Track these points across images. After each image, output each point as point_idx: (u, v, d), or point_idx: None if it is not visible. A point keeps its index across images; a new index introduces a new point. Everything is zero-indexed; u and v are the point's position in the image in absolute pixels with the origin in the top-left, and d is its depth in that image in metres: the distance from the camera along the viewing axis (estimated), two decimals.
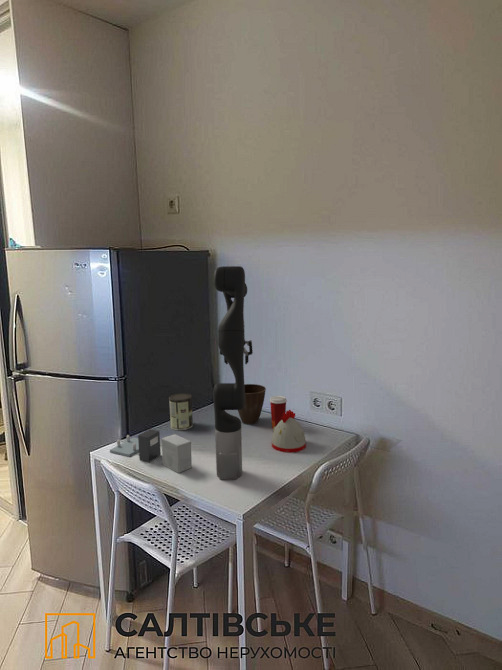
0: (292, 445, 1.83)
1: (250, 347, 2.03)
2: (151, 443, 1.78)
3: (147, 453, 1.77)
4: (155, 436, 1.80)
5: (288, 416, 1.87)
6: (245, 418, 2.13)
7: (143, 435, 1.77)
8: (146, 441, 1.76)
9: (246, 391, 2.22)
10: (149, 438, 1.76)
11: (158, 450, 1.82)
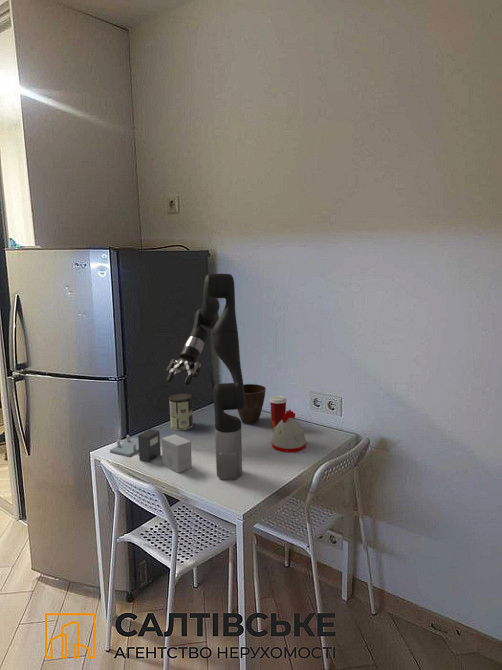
0: (292, 445, 1.83)
1: (195, 367, 1.88)
2: (151, 443, 1.78)
3: (147, 453, 1.77)
4: (155, 436, 1.80)
5: (288, 416, 1.88)
6: (245, 418, 2.13)
7: (143, 435, 1.77)
8: (146, 441, 1.76)
9: (246, 391, 2.22)
10: (149, 438, 1.76)
11: (158, 450, 1.82)
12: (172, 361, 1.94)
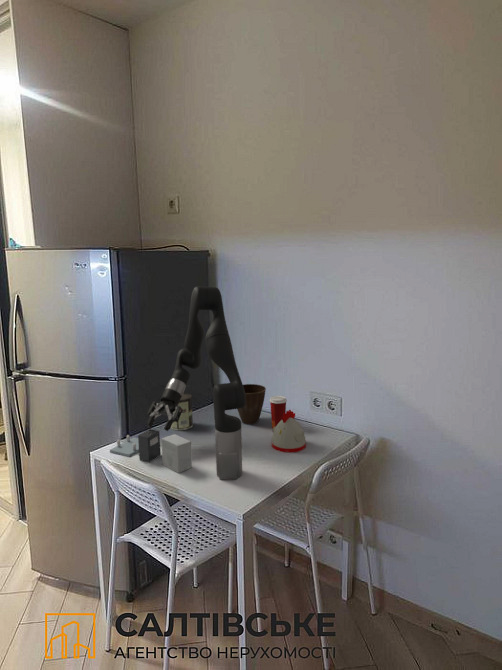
0: (292, 445, 1.83)
1: (176, 412, 1.84)
2: (151, 443, 1.78)
3: (147, 453, 1.77)
4: (155, 436, 1.80)
5: (288, 416, 1.87)
6: (245, 418, 2.13)
7: (143, 435, 1.77)
8: (146, 441, 1.76)
9: (246, 391, 2.22)
10: (149, 438, 1.76)
11: (158, 450, 1.82)
12: (153, 404, 1.90)
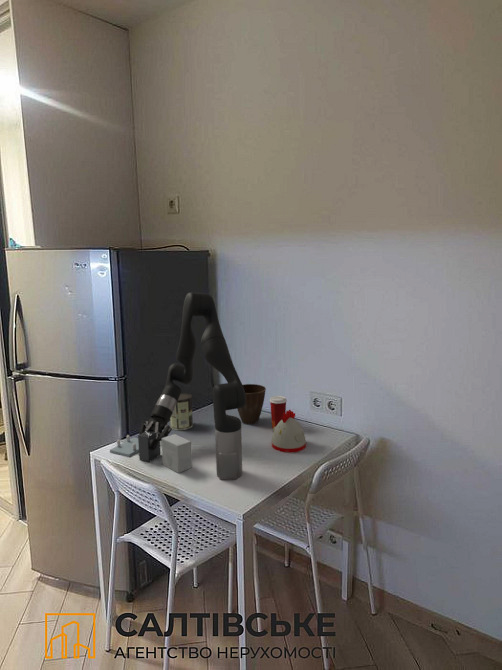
0: (292, 445, 1.83)
1: (164, 431, 1.79)
2: (151, 443, 1.78)
3: (147, 453, 1.77)
4: None
5: (288, 416, 1.87)
6: (245, 418, 2.13)
7: (143, 435, 1.77)
8: (146, 441, 1.76)
9: (246, 391, 2.22)
10: (149, 438, 1.76)
11: (158, 450, 1.82)
12: (143, 423, 1.85)
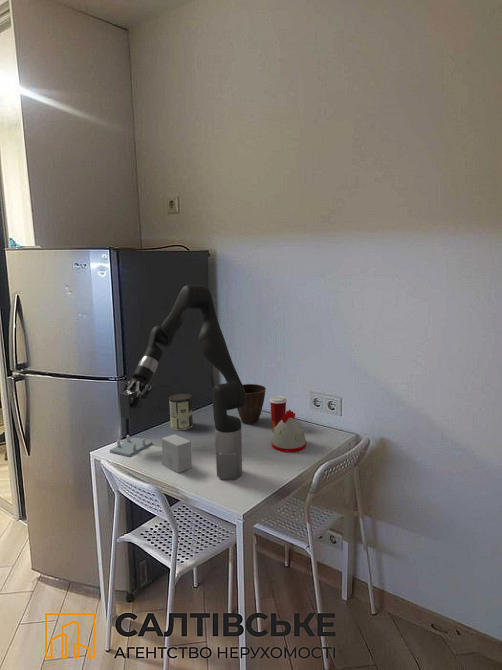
0: (292, 445, 1.83)
1: (144, 390, 1.86)
2: (132, 401, 1.84)
3: (128, 410, 1.84)
4: None
5: (288, 416, 1.87)
6: (245, 418, 2.13)
7: (124, 393, 1.84)
8: (127, 399, 1.83)
9: (246, 391, 2.22)
10: (130, 396, 1.83)
11: (139, 408, 1.89)
12: (125, 383, 1.91)
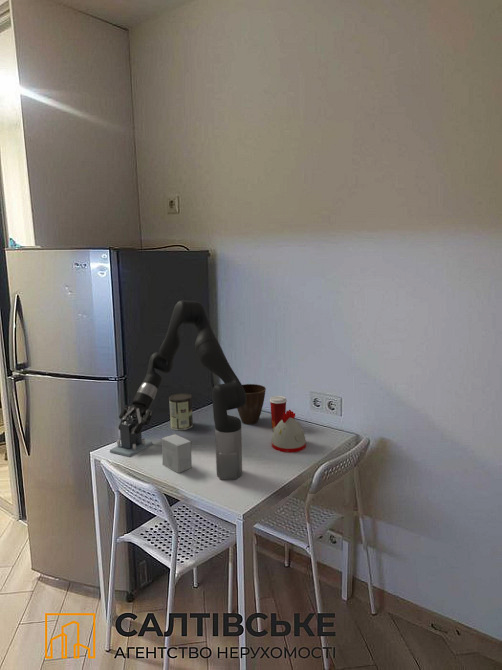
0: (292, 445, 1.83)
1: (146, 415, 1.88)
2: (132, 431, 1.87)
3: (128, 441, 1.86)
4: (136, 425, 1.89)
5: (288, 416, 1.88)
6: (245, 418, 2.13)
7: (125, 424, 1.87)
8: (127, 429, 1.85)
9: (246, 391, 2.22)
10: (130, 426, 1.86)
11: (139, 438, 1.91)
12: (125, 408, 1.94)
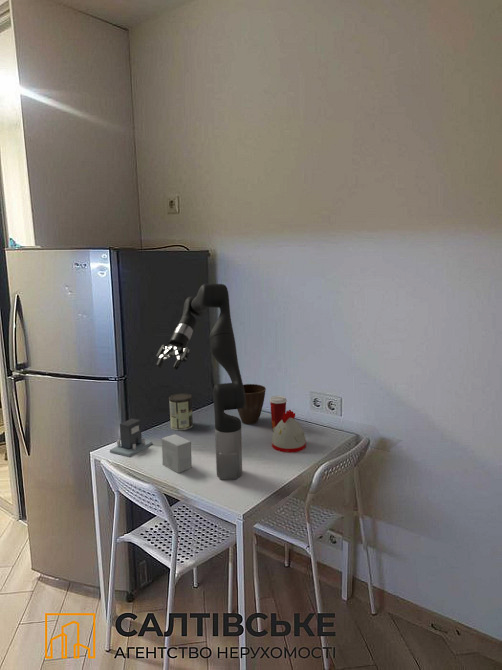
0: (292, 445, 1.83)
1: (184, 352, 1.95)
2: (132, 431, 1.87)
3: (128, 441, 1.86)
4: (136, 425, 1.89)
5: (288, 416, 1.88)
6: (245, 418, 2.13)
7: (124, 424, 1.87)
8: (127, 429, 1.85)
9: (246, 391, 2.22)
10: (130, 426, 1.86)
11: (139, 438, 1.91)
12: (162, 347, 2.01)
